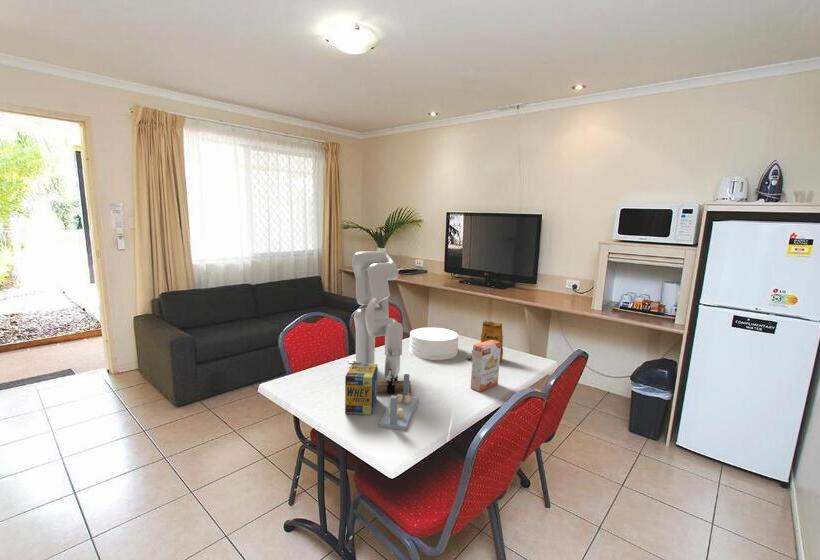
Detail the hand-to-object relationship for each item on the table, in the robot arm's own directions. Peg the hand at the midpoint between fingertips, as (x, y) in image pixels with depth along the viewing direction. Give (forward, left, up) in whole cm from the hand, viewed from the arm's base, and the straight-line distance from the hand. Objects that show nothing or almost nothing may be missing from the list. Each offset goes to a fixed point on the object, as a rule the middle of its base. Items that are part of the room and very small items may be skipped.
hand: (392, 389), depth 170 cm
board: (0, 0, -1) cm, 1 cm away
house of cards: (+34, +51, -1) cm, 61 cm away
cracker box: (+40, +16, -1) cm, 43 cm away
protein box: (-9, -17, -1) cm, 19 cm away
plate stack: (+10, +58, -1) cm, 59 cm away
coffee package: (+43, +54, -1) cm, 69 cm away
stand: (+8, -19, -1) cm, 20 cm away
